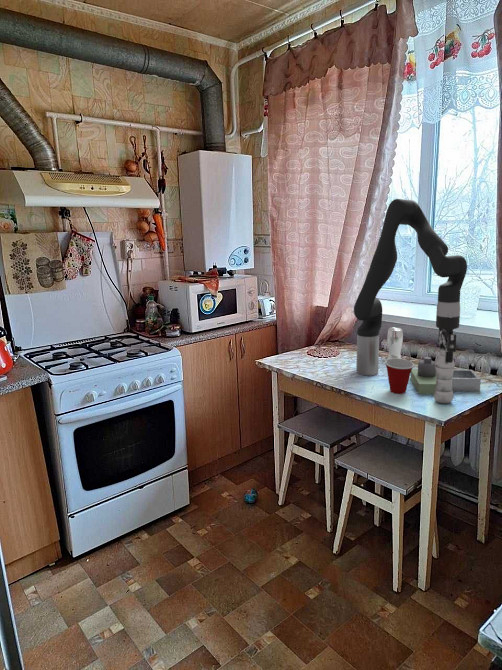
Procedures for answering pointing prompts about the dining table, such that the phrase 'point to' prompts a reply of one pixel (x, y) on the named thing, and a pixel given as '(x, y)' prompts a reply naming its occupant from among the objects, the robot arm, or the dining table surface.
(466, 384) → the grey open box
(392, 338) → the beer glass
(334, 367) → the dining table surface
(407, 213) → the robot arm
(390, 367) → the plastic cup
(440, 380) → the plastic bottle
